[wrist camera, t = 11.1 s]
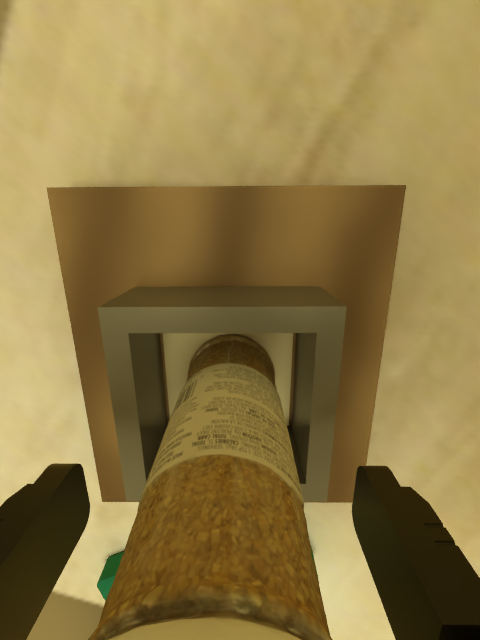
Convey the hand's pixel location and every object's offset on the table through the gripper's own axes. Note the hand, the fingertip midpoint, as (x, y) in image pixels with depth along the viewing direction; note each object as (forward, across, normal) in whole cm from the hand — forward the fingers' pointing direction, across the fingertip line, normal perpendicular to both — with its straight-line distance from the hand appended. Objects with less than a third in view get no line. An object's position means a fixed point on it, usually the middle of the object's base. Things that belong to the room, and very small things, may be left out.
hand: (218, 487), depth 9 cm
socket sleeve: (+7, 0, 0) cm, 7 cm away
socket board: (+10, 0, 0) cm, 10 cm away
